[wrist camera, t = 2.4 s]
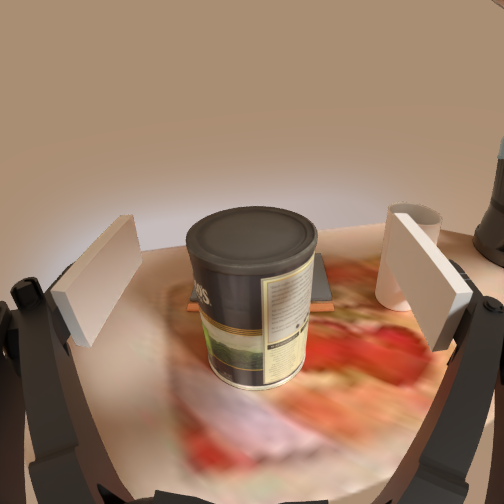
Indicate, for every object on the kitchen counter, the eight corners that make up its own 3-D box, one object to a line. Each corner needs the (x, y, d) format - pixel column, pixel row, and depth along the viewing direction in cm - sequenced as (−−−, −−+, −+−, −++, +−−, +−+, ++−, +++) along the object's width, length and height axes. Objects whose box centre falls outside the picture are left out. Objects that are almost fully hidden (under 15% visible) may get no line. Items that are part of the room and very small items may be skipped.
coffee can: (209, 397, 26) (180, 272, 19) (207, 324, 35) (189, 211, 28) (318, 382, 27) (337, 256, 20) (294, 314, 36) (298, 201, 29)
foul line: (332, 304, 37) (332, 302, 37) (334, 311, 36) (334, 309, 36) (189, 305, 38) (188, 303, 38) (186, 311, 37) (186, 309, 37)
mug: (368, 282, 41) (381, 200, 35) (411, 282, 40) (429, 203, 34) (383, 332, 32) (408, 239, 26) (433, 330, 31) (464, 241, 25)
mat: (320, 255, 47) (320, 252, 47) (331, 300, 38) (331, 297, 38) (205, 256, 49) (205, 254, 48) (190, 300, 39) (189, 297, 39)
